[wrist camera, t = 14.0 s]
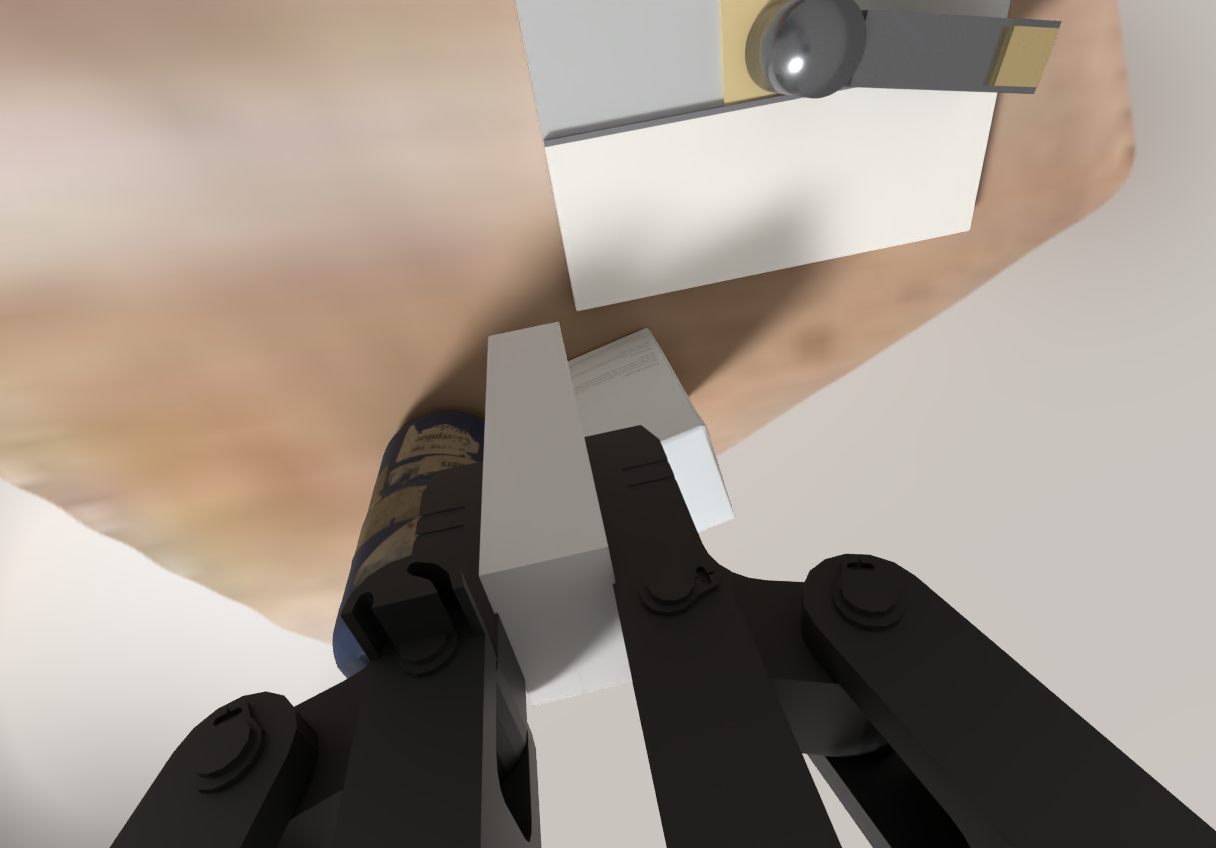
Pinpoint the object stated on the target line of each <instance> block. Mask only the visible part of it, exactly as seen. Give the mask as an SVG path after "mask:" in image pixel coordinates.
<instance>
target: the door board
mask: <svg viewBox="0 0 1216 848" xmlns="http://www.w3.org/2000/svg"><path fill="white" fill-rule="evenodd" d="M779 1H783V0H515V2H516V7H517V12H518V17H519V22H520V27H521V32H522V37H523V43H524V48H525V53H526V58H527V63H528V68H529V73H530V78H531V84H532V89H533V94H534V99H535V104H536V109H537V114H538V119H539V124H540V130H541V135H542V140H543V145H544V150H545V155H546V160H547V165H548V171H549V176H550V181H551V186H552V191H553V196H554V201H555V206H556V212H557V217H558V222H559V227H560V232H561V237H562V242H563V247H564V252H565V258H566V263H567V268H568V273H569V278H570V283H571V288H572V293H573V299H574V303H575V307H576V310H577V311H581V310H586V309H591V308H596V307H601V306H605V305H610V304H615V303H620V302H625V301H630V300H634V299H639V298H644V297H649V296H654V295H659V294H664V293H668V292H673V291H678V290H683V289H688V288H693V287H697V286H702V285H707V284H712V283H717V282H722V281H727V280H731V279H736V278H741V277H746V276H751V275H756V274H761V273H765V272H770V271H775V270H780V269H785V268H790V267H794V266H799V265H804V264H809V263H814V262H819V261H824V260H828V259H833V258H838V257H843V256H848V255H853V254H857V253H862V252H867V251H872V250H877V249H882V248H887V247H891V246H896V245H901V244H906V243H911V242H916V241H921V240H925V239H930V238H935V237H940V236H945V235H950V234H954V233H959V232H964V231H969V230H970V225H971V220H972V215H973V210H974V205H975V200H976V196H977V191H978V186H979V181H980V176H981V171H982V166H983V161H984V156H985V151H986V146H987V141H988V136H989V131H990V126H991V121H992V116H993V111H994V107H995V102H996V97H997V93H994V92H967V91H940V90H913V89H887V88H860V87H844V86H843V87H842V88H841V89H840V90H838V91H837V92H835V93H833V94H831V95H829V96H826V97H823V98H816V99H813V98H805V97H799V96H792V95H786V94H780V93H773V92H768V91H765V90H763V89H761V88H760V87H759V86H757V85H756V84H755V83H754V81H753V80H752V79H751V77H750V75H749V73H748V70H747V67H746V62H745V46H746V40H747V37H748V34H749V31H750V29H751V27H752V25H753V23H754V21H755V20H756V19H757V17H758V16H759V15H760V14H761V13H762V12H763V11H764V10H765V9H766V8H767V7H769V6H770V5H772V4H774V3H776V2H779ZM854 1H855V2H856V3H857V5H858V6H859V8H860V9H861V10H881V11H898V12H915V13H931V14H948V15H965V16H982V17H999V18H1007V16H1008V11H1009V6H1010V1H1011V0H854Z"/></svg>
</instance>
